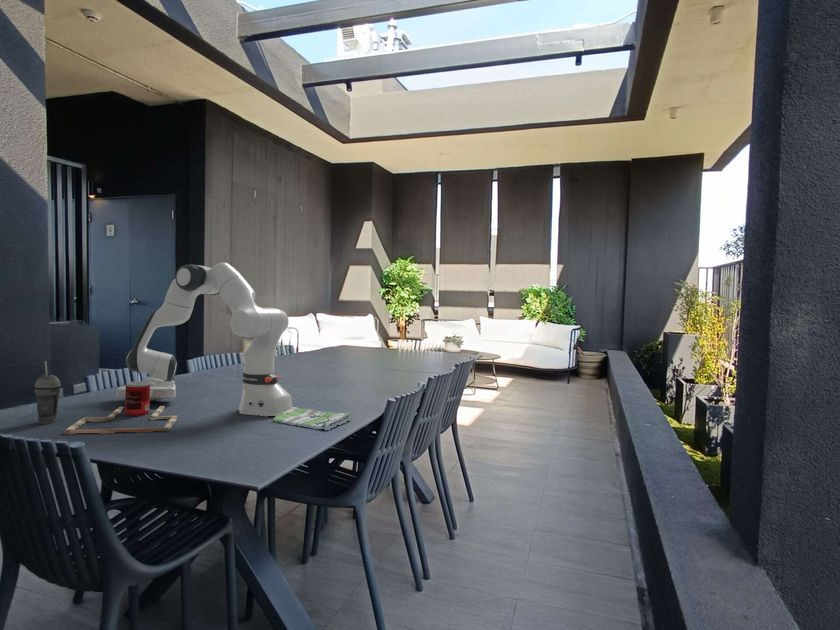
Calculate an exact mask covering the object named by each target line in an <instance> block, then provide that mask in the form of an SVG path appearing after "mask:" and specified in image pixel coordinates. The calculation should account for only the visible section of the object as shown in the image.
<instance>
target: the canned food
mask: <svg viewBox="0 0 840 630" xmlns="http://www.w3.org/2000/svg"><path fill="white" fill-rule="evenodd" d="M125 386H126V397H125V398H124V400H125V406H124V410H125V412H124V413H125V416H128V415H130V416H129V417H141V416H140V415H142V416H145V414H146V415H149V413H150V402H151V401H150V382H146V381H143V380H138V381H129V382H126V383H125Z"/></svg>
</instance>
